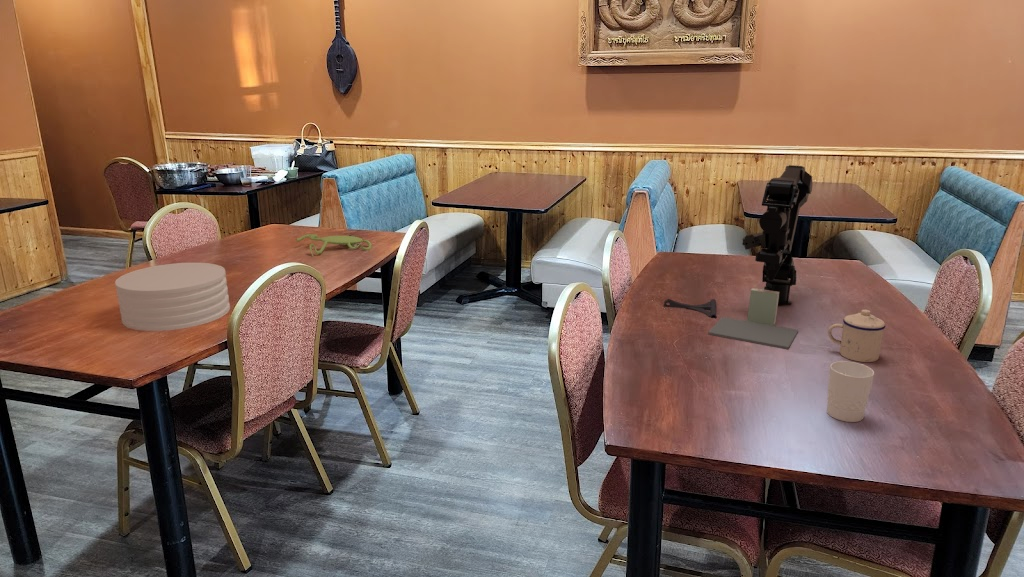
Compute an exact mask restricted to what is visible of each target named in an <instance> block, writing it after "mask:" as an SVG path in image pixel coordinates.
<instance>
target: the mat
mask: <svg viewBox="0 0 1024 577" xmlns="http://www.w3.org/2000/svg"><path fill="white" fill-rule="evenodd" d="M798 333H799V329H796V328H795V329H794V328H789V327H784V326H777V325H774V326H773V325H767V324H762V323H756V322H750V321H748V320H744V319H738V318H731V317H726V316H722V317H720V319H719V320H718V321H717V322H716V323H715V324H714V326H712V327H711V328H710V329H709V331H708V332H707V335H709V336H715V337H721V338H726V339H731V340H736V341H742V342H748V343H751V344H752V343H753V344H758V345H762V346H769V347H774V348H780V349H784V350H785V349H786V350H789V348H790V347H791V346H792V343H793V342H794V340H795V338H796V337H797V335H798Z"/></svg>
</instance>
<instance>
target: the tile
mask: <svg viewBox="0 0 1024 577" xmlns="http://www.w3.org/2000/svg"><path fill="white" fill-rule="evenodd" d="M778 299H779V292H777V291H770V290H764V288H762V289H761V288H757V287H756V288H755V287H752V288H751V289H750V295H749V304H748V311H747V312H748V313H747V321H750V322H756V323H762V324H767V325H773V326H776V322H777V314H778V313H777V312H778V306H779V305H778Z"/></svg>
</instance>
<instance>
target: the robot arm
mask: <svg viewBox="0 0 1024 577" xmlns="http://www.w3.org/2000/svg"><path fill="white" fill-rule="evenodd" d="M813 185H814V184H813V176H812V175H811V174H810V173H809V172H807V171H806V167H805V166H802V165H792V164H791V165H790V164H789V165H786V166H785V169H784V171H783V172H782V173H781V175H780V176H779V177H772V178H770V180H769V181H768V182H766V185H765V189H764V193H763V197H762V202H761V206H762V207H767V208H766V211H765V212H764V213H763V214H762V215H761V216H760V218H759V223H758V224H759V227H760V229H761V230H762V232H758V233H753V234H752V233H750V234H749V235H748V234H746V235H745V236H744V237H743V238H742V243H741V244H742V246H743V247H744V249H745V250H750V249H752V248H757V247H760V250H758V251H757V252H756V254H755V262H759V263H763V266H762V279H761V280H762V283H765V286H764V287H763V289H764V290H770V291H777V292H779V299H778V306H785V305H792V304H793V303H792V301H790V294H791V292H790V291H791V287H793V286H796V285H797V278H798V276H797V270H796V266H795V261H794V258H793V255H792V252H791V251H792V246H793V243H794V237H795V233H796V228H797V223H798V218H799V215H800V214H799V213H800V210H801V208H802V207H803V206H804V205H805V204H806V203H807V202H808V199H809V195H811V194H812V191H813Z"/></svg>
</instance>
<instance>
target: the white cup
mask: <svg viewBox="0 0 1024 577" xmlns="http://www.w3.org/2000/svg"><path fill="white" fill-rule="evenodd" d="M829 365H830V366H829V376H828V384H827V385H828V386H827V387H828V388H827V398H826V399H827V400H826V401H827V405H826V413H827V414H828V415H829V416H830V417H832V418H834V419H836V420H838V421H842V422H848V423H857V422H860V421H862V420H863V419H864V418H865V412H866V409H867V408H866V407H867V405H868V402H869V398H870V394H871V391H872V385H873V381H874V376H875V371H874V370H873V368H871V367H870V366H867V365H866V364H862V363H860V362H856V361H849V360H848V361H846V360H839V361H834V362H832V363H830V364H829Z"/></svg>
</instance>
